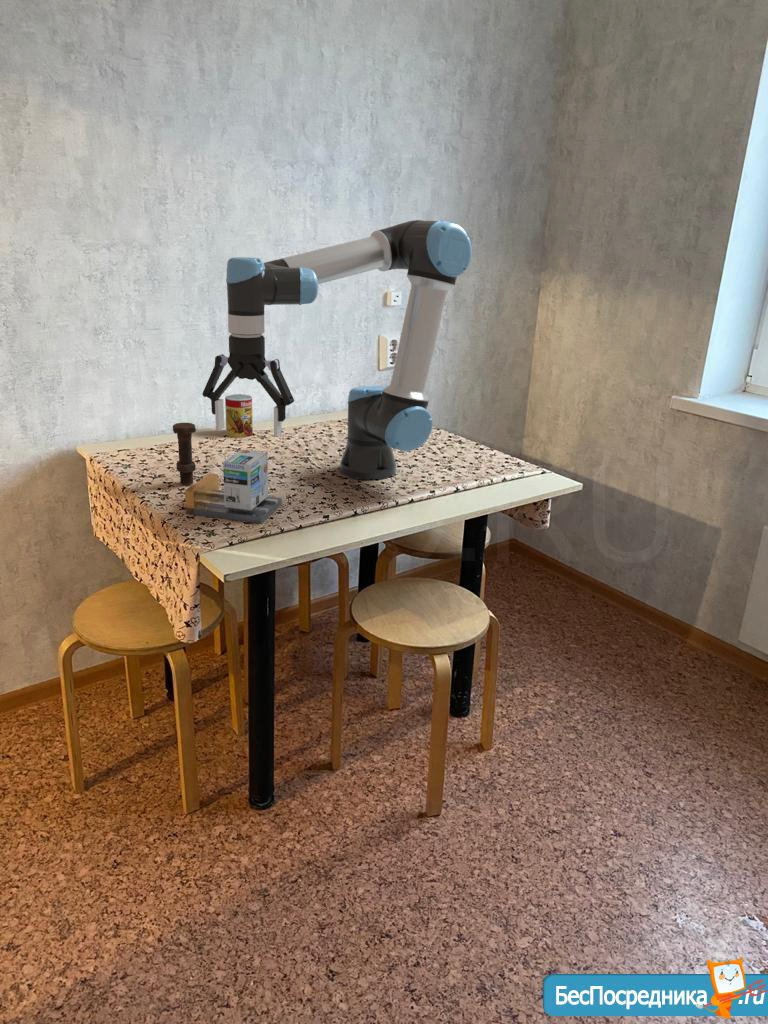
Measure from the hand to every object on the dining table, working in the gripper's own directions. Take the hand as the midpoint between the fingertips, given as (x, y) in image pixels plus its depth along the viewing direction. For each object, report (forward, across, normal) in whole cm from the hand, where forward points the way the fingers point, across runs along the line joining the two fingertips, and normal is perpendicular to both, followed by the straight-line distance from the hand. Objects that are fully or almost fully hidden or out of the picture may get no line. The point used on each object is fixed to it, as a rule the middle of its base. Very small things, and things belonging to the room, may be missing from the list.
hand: (248, 432), depth 170 cm
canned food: (+19, +27, -57) cm, 66 cm away
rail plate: (+18, +4, 0) cm, 19 cm away
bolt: (+19, +22, -12) cm, 31 cm away
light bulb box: (+17, +1, 0) cm, 17 cm away
